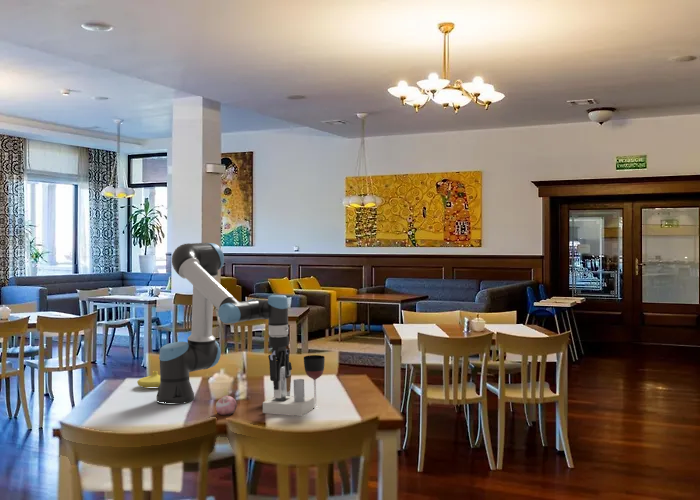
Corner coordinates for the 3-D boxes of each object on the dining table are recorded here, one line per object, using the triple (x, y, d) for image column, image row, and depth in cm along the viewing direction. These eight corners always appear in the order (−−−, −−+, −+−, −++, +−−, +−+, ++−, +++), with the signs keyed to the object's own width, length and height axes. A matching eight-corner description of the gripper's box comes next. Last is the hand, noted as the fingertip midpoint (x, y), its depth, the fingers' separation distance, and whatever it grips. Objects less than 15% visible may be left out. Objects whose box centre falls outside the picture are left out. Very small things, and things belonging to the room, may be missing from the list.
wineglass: (310, 412, 267) (309, 359, 266) (301, 407, 275) (300, 356, 274) (329, 409, 271) (328, 357, 270) (320, 404, 278) (318, 354, 278)
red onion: (221, 419, 261) (214, 402, 261) (217, 417, 268) (210, 399, 268) (241, 410, 264) (234, 392, 264) (236, 407, 271) (229, 390, 271)
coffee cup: (289, 402, 282) (288, 365, 281) (269, 401, 283) (268, 364, 283) (295, 397, 290) (294, 361, 289) (275, 397, 291) (274, 361, 291)
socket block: (262, 413, 266) (262, 381, 266) (277, 405, 277) (276, 375, 277) (301, 416, 260) (300, 383, 260) (314, 408, 271) (313, 377, 271)
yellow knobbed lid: (158, 382, 328) (157, 366, 328) (180, 385, 319) (180, 370, 319) (129, 388, 315) (129, 372, 315) (152, 392, 306) (152, 376, 306)
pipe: (273, 404, 269) (272, 367, 268) (278, 401, 272) (277, 365, 272) (283, 404, 267) (282, 368, 267) (287, 402, 271) (286, 366, 270)
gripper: (277, 339, 260) (278, 402, 260) (297, 332, 276) (298, 392, 276) (259, 338, 263) (261, 400, 263) (280, 332, 278) (281, 390, 279)
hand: (280, 396), depth 270 cm, fingers closed on pipe, 4 cm apart
